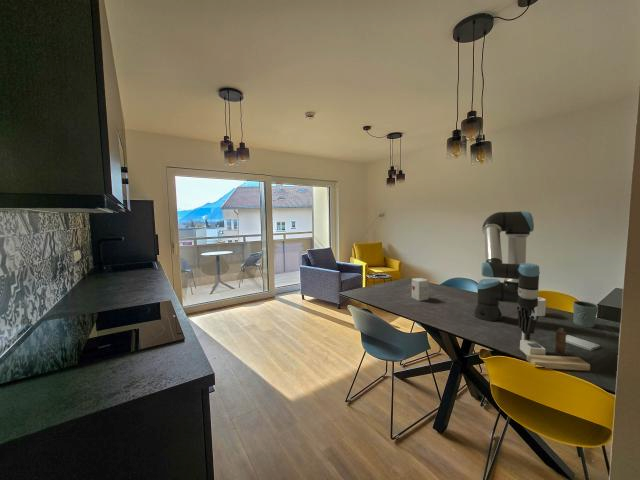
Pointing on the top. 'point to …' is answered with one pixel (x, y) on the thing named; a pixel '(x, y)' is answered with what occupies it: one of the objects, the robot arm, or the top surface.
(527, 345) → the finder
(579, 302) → the grey round pot
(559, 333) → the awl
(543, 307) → the mug
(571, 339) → the hard drive
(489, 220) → the robot arm
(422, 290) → the supplement box
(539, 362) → the batten
